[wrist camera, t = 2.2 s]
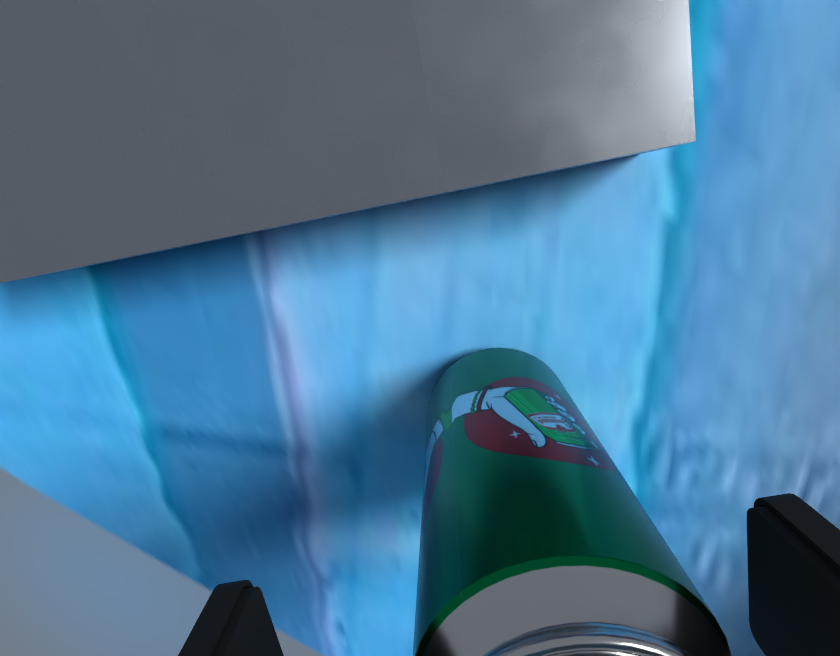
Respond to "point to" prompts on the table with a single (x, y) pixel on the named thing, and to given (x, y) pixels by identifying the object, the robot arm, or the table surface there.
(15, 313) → the table surface
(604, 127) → the bore block
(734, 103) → the table surface
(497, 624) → the soda can
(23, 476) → the table surface
